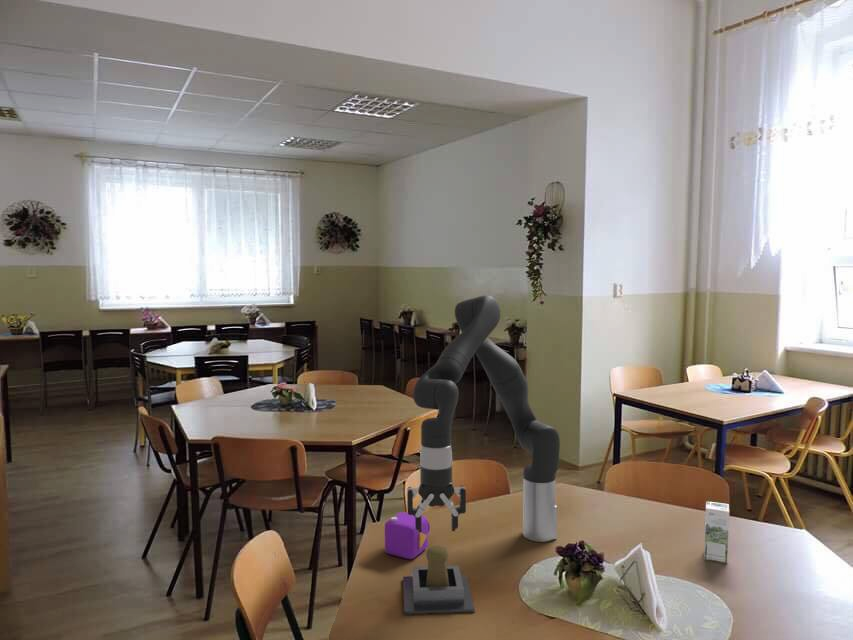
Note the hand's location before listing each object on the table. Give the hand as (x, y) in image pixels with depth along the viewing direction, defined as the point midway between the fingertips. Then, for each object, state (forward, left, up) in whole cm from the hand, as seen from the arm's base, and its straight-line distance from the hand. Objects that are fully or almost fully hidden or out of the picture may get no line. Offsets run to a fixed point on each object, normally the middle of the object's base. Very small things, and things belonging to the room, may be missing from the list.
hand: (436, 530), depth 149 cm
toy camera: (+6, -25, -16) cm, 30 cm away
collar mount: (0, 0, -16) cm, 16 cm away
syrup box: (-76, -14, -16) cm, 79 cm away
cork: (0, 0, -15) cm, 15 cm away
